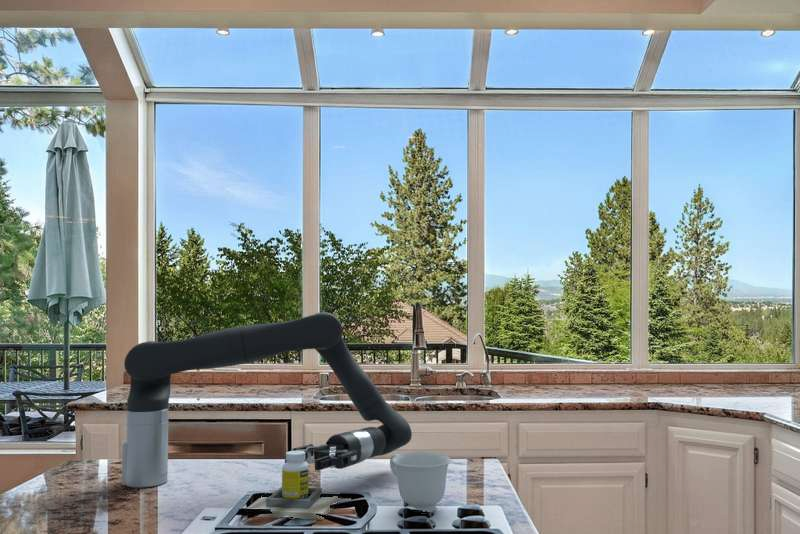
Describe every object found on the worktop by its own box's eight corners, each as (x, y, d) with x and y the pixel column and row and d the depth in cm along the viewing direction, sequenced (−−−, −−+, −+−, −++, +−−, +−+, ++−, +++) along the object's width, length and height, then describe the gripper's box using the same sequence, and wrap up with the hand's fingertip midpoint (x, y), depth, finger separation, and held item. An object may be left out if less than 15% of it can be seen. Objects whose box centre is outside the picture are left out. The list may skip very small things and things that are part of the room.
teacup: (411, 494, 138) (411, 447, 139) (464, 508, 128) (463, 458, 129) (370, 506, 130) (370, 456, 131) (423, 523, 119) (422, 469, 120)
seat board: (244, 516, 124) (244, 502, 125) (270, 495, 138) (270, 482, 138) (322, 519, 122) (322, 505, 122) (341, 498, 136) (341, 485, 136)
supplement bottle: (303, 505, 127) (303, 455, 128) (277, 504, 128) (277, 454, 129) (312, 497, 132) (312, 449, 133) (287, 496, 133) (287, 449, 134)
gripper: (326, 428, 150) (276, 440, 136) (374, 434, 142) (326, 448, 128) (326, 460, 149) (276, 476, 136) (374, 468, 141) (326, 486, 128)
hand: (300, 462), depth 132 cm, fingers open, 8 cm apart
